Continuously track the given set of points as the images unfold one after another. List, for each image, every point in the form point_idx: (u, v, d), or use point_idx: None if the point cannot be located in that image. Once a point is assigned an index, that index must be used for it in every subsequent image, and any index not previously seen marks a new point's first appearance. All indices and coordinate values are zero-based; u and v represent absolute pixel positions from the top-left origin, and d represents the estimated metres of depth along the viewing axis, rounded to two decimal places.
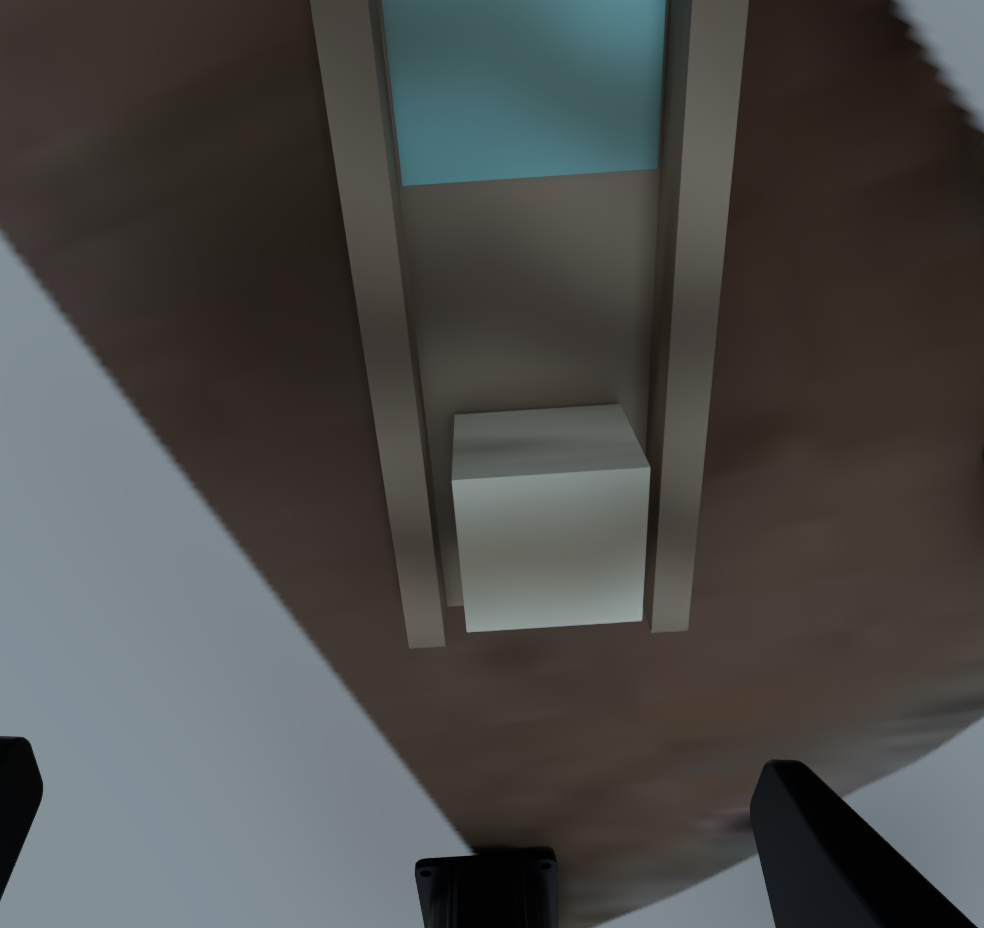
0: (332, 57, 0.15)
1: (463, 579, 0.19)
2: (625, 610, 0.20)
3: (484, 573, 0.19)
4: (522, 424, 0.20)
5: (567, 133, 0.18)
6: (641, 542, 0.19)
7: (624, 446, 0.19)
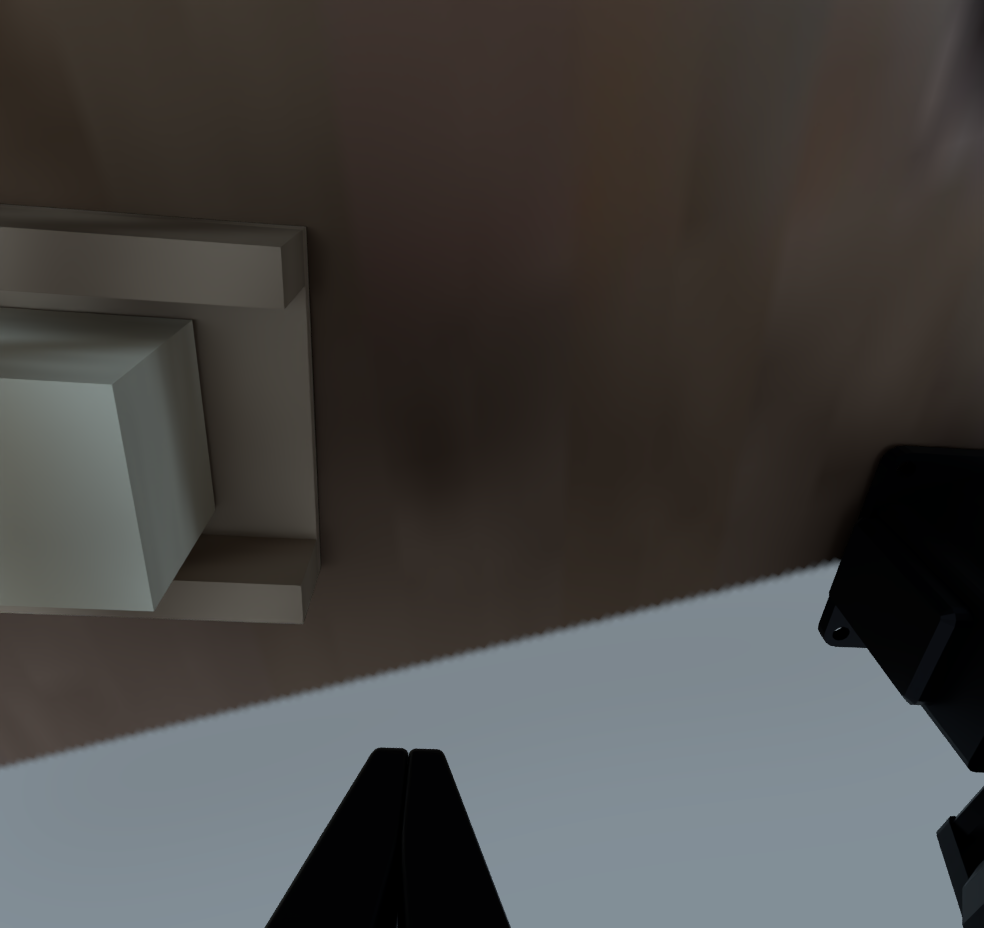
0: None
1: (60, 605, 0.14)
2: (92, 408, 0.12)
3: (45, 582, 0.14)
4: None
5: None
6: None
7: None
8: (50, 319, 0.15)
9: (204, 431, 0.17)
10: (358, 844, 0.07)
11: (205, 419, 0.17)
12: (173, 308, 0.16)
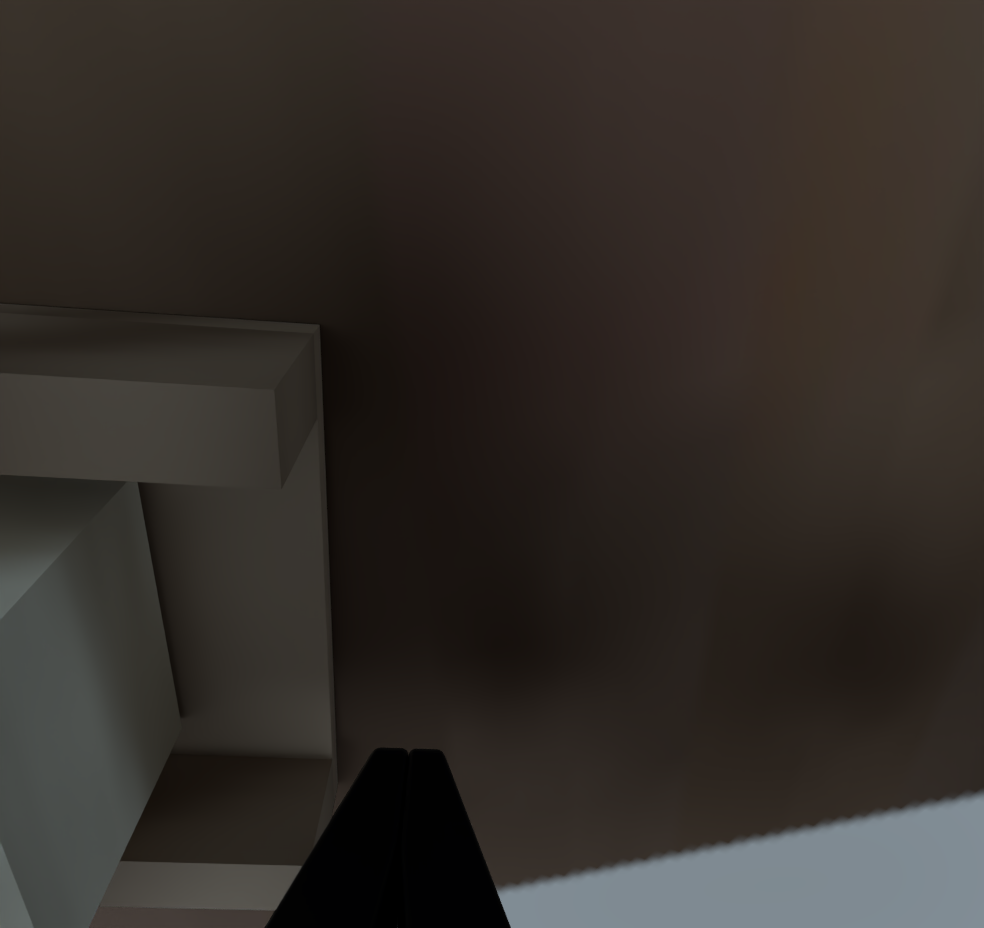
0: None
1: None
2: None
3: None
4: None
5: None
6: None
7: None
8: None
9: (161, 628, 0.11)
10: (358, 844, 0.07)
11: (163, 606, 0.11)
12: None
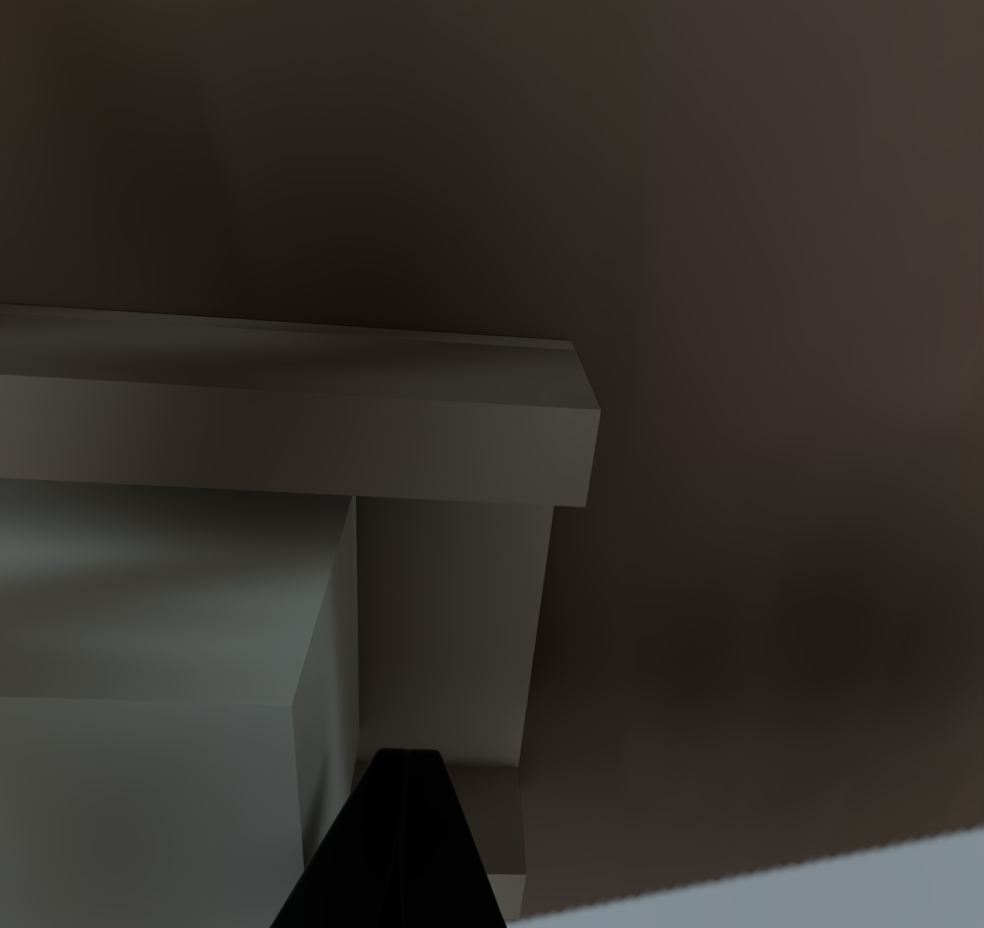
0: None
1: None
2: (247, 741, 0.06)
3: None
4: None
5: None
6: None
7: None
8: (134, 497, 0.09)
9: (357, 639, 0.11)
10: (362, 844, 0.07)
11: (378, 618, 0.11)
12: None
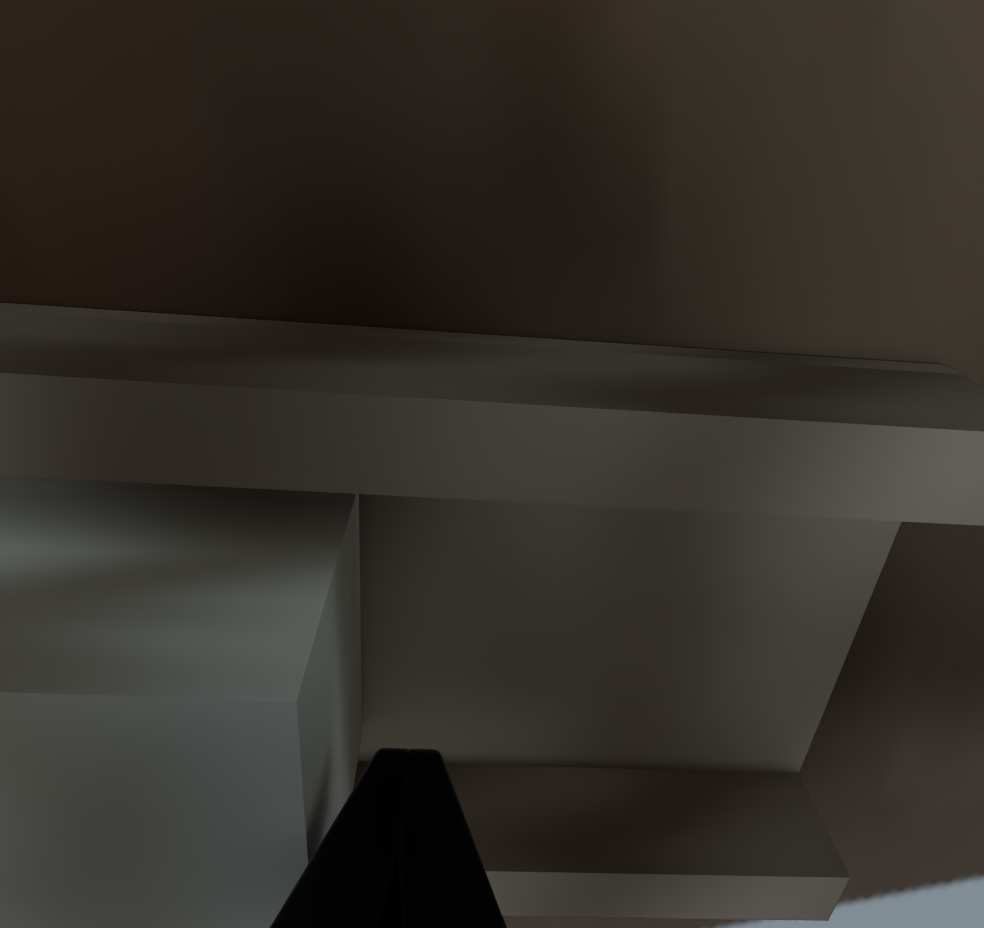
0: None
1: None
2: (253, 737, 0.06)
3: None
4: None
5: None
6: None
7: None
8: (139, 496, 0.09)
9: (359, 637, 0.11)
10: (362, 844, 0.07)
11: (704, 629, 0.12)
12: None
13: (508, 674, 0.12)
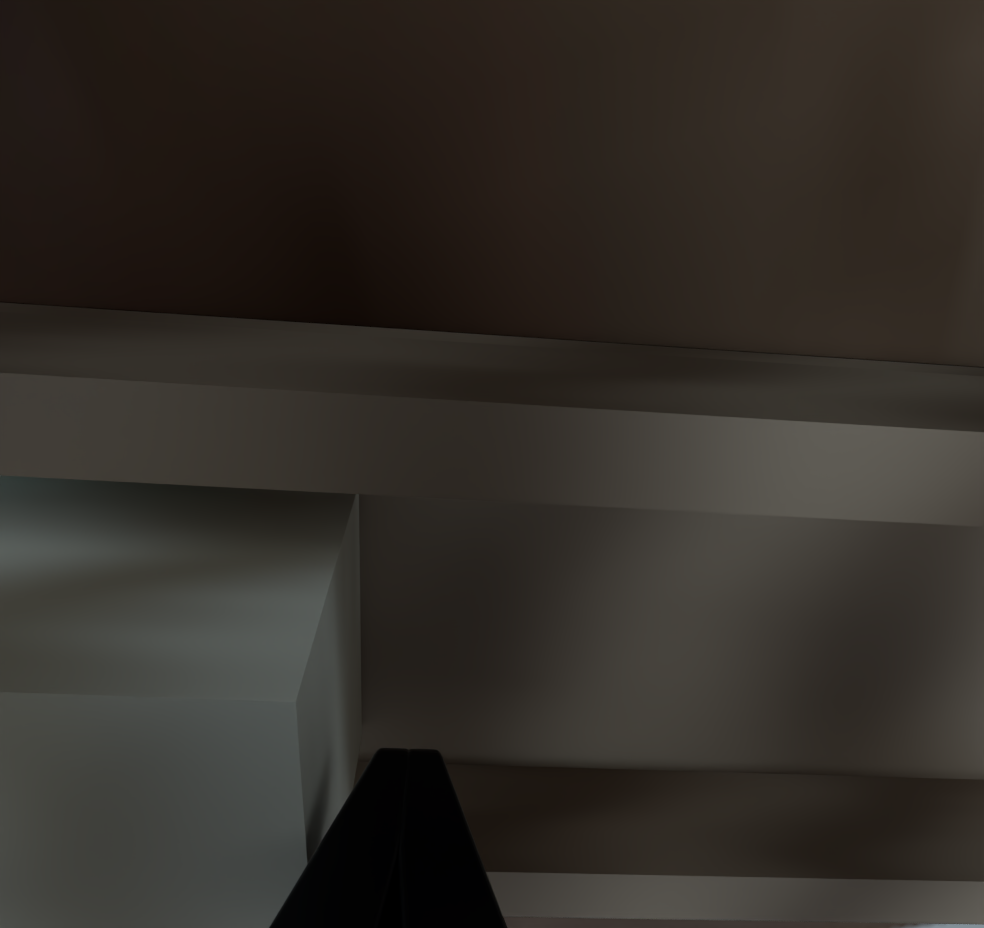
0: None
1: None
2: (252, 738, 0.06)
3: None
4: None
5: None
6: None
7: None
8: (139, 496, 0.09)
9: (359, 637, 0.11)
10: (362, 844, 0.07)
11: (946, 640, 0.12)
12: None
13: (747, 683, 0.12)
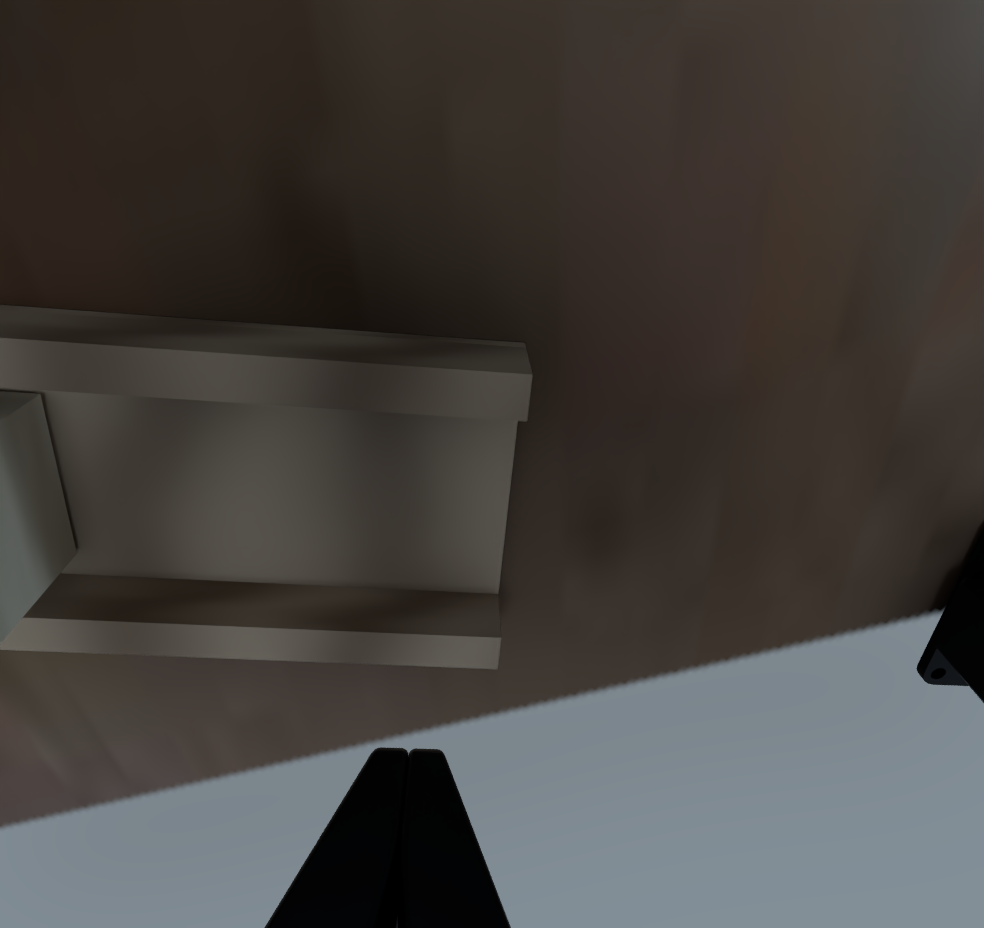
0: None
1: None
2: None
3: None
4: None
5: None
6: None
7: None
8: None
9: (59, 487, 0.19)
10: (358, 844, 0.07)
11: (420, 496, 0.20)
12: None
13: (310, 523, 0.20)
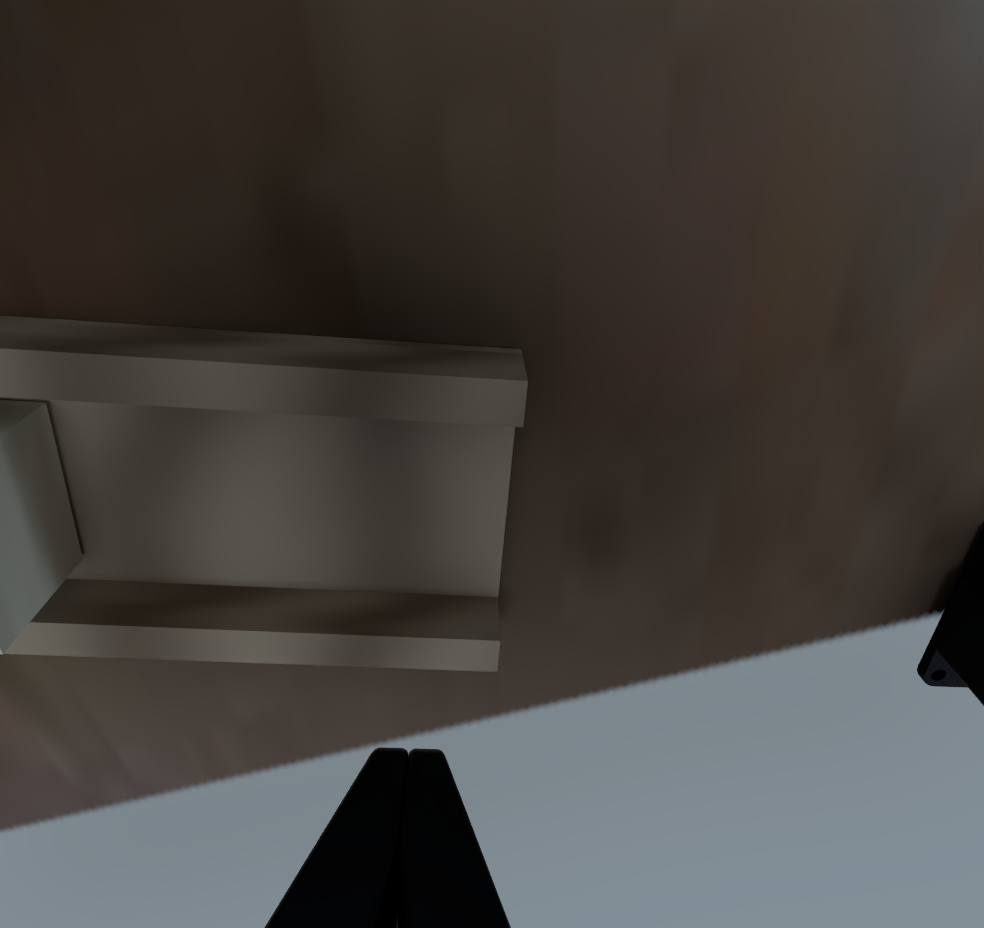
0: None
1: None
2: None
3: None
4: None
5: None
6: None
7: None
8: None
9: (65, 493, 0.20)
10: (358, 844, 0.07)
11: (419, 501, 0.20)
12: None
13: (311, 528, 0.21)
